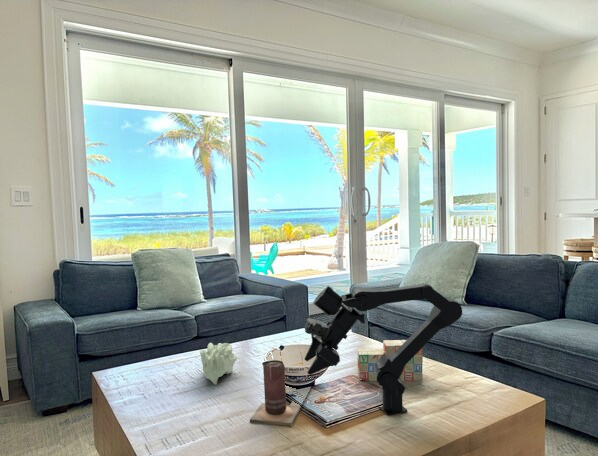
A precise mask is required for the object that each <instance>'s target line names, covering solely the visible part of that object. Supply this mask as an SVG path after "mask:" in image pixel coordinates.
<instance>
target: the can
mask: <svg viewBox="0 0 598 456" xmlns="http://www.w3.org/2000/svg"><path fill="white" fill-rule="evenodd" d="M262 368H263V369H262V370H263V387H264V389H263V390H264V403H265V410H266V412H267V413H268V414H272V415H278V414H282V413H284V412H285V410H286V405H287V395H286V387H285V379H286V368H285V364H284V362H283V361H282V360H278V359H277V360H276V359H274V360H269V361H266V362H264V365H263V366H262Z"/></svg>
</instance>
